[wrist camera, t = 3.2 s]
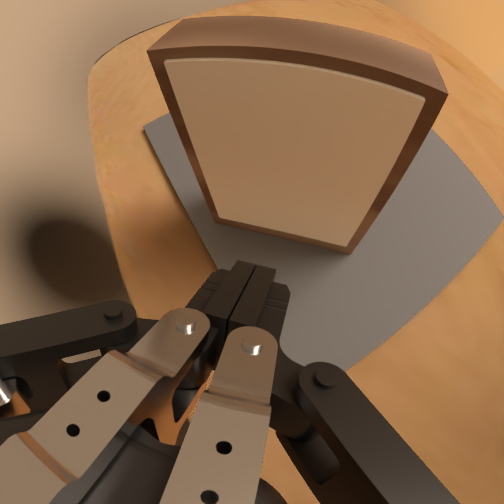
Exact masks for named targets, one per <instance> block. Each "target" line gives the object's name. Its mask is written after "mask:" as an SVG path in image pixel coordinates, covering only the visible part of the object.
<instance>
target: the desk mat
mask: <svg viewBox="0 0 504 504" xmlns="http://www.w3.org/2000/svg"><path fill="white" fill-rule="evenodd" d="M143 128H144V130H145V132H146V134H147V136H148V138H149V140H150V142H151V144H152V146H153V148H154V150H155V152H156V154H157V156H158V158H159V160H160V162H161V164H162V166H163V168H164V170H165V172H166V174H167V176H168V178H169V180H170V181H171V183H172V185H173V187H174V189H175V191H176V193H177V195H178V197H179V199H180V201H181V203H182V204H183V206H184V208H185V210H186V212H187V214H188V216H189V218H190V219H191V221H192V223H193V225H194V227H195V229H196V230H197V232H198V234H199V236H200V238H201V240H202V241H203V243H204V245H205V247H206V249H207V251H208V252H209V254H210V256H211V258H212V260H213V261H214V263H215V265H216V267H217V268H218V270H220V269H225V270H229V271H230V270H231V269H232V267H233V266H234V264H235V263H236V261H237V260H241V261H246V262H250V263H254V264H257V265H262V266H266V267H270V268H274V269H277V270H276V276H275V280H274V282H277V283H281V284H285V285H287V286H288V289H289V291H290V293H291V294H290V299H289V303H288V307H287V311H286V316H285V320H284V324H283V328H282V332H281V336H280V347H281V349H282V351H283V352H284V354H285V355H286V356H287V357H289V358H290V359H291V360H293V361H294V362H296V363H298V364H300V365H302V366H306V365H307V364H310V363H313V362H328V363H331V364H334V365H336V366H338V367H339V368H341V369H342V370H343V371H346V370H347V369H349V368H350V367H352V366H353V365H354V364H356V363H357V362H358V361H360V360H361V359H363V358H364V357H365V356H367V355H368V354H369V353H371V352H372V351H373V350H374V349H376V348H377V347H378V346H380V345H381V344H382V343H383V342H385V341H386V340H387V339H388V338H390V337H391V336H392V335H393V334H394V333H396V332H397V331H398V330H399V329H400V328H402V327H403V326H404V325H405V324H406V323H407V322H409V321H410V320H411V319H412V318H413V317H414V316H415V315H416V314H418V313H419V312H420V311H421V310H422V309H423V308H424V307H425V306H426V305H427V304H428V303H429V302H431V301H432V300H433V299H434V298H435V297H436V296H437V295H438V294H439V293H440V292H441V291H442V290H443V289H444V288H445V287H446V286H447V285H448V284H449V283H450V282H451V281H452V280H453V279H454V277H455V276H456V275H457V274H458V273H459V272H460V271H461V270H462V269H463V268H464V267H465V266H466V264H467V263H468V262H469V261H470V260H471V259H472V258H473V256H474V255H475V254H476V253H477V252H478V251H479V249H480V248H481V247H482V246H483V245H484V243H485V242H486V241H487V240H488V238H489V237H490V236H491V235H492V233H493V232H494V231H495V230H496V228H497V227H498V226H499V224H500V223H501V222H502V220H503V219H504V216H503V215H502V213H501V212H500V210H499V209H498V207H497V206H496V204H495V203H494V201H493V200H492V199H491V197H490V196H489V194H488V193H487V192H486V190H485V189H484V188H483V186H482V185H481V184H480V182H479V181H478V180H477V179H476V177H475V176H474V175H473V174H472V172H471V171H470V170H469V169H468V168H467V166H466V165H465V164H464V163H463V162H462V160H461V159H460V158H459V157H458V156H457V155H456V154H455V153H454V151H453V150H452V149H451V148H450V147H449V146H448V145H447V144H446V143H445V142H444V141H443V140H442V139H441V138H440V137H439V136H438V135H437V134H436V133H435V132H434V131H433V130H432V129H430V131H429V133H428V135H427V136H426V138H425V140H424V142H423V144H422V145H421V147H420V149H419V151H418V152H417V154H416V156H415V158H414V159H413V161H412V163H411V164H410V166H409V168H408V169H407V171H406V173H405V174H404V176H403V177H402V179H401V181H400V182H399V184H398V186H397V187H396V189H395V190H394V192H393V193H392V195H391V197H390V198H389V200H388V201H387V203H386V204H385V206H384V207H383V209H382V210H381V212H380V213H379V215H378V216H377V218H376V219H375V221H374V222H373V224H372V225H371V227H370V228H369V230H368V231H367V233H366V234H365V235H364V237H363V238H362V240H361V241H360V242H359V244H358V245H357V247H356V248H355V250H354V251H353V252H352V254H347V253H343V252H338V251H334V250H330V249H326V248H322V247H318V246H314V245H309V244H305V243H301V242H297V241H293V240H288V239H284V238H280V237H275V236H271V235H267V234H262V233H258V232H254V231H249V230H245V229H240V228H236V227H231V226H227V225H222V224H218V223H215V222H214V219H213V217H212V215H211V212H210V210H209V208H208V205H207V203H206V200H205V198H204V196H203V193H202V191H201V188H200V186H199V184H198V181H197V179H196V176H195V174H194V171H193V169H192V166H191V164H190V162H189V159H188V157H187V154H186V152H185V149H184V147H183V144H182V142H181V139H180V137H179V134H178V132H177V129H176V127H175V124H174V122H173V119H172V116H171V114H170V113H168V114H166V115H164V116H162V117H160V118H158V119H156V120H154V121H152V122H150V123H148V124H147V125H145V126H143Z"/></svg>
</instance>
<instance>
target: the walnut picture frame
mask: <svg viewBox="0 0 504 504" xmlns="http://www.w3.org/2000/svg"><path fill="white" fill-rule="evenodd" d="M147 54H148V56H149V59H150V62H151V64H152V67H153V70H154V72H155V75H156V78H157V80H158V83H159V85H160V88H161V91H162V93H163V96H164V98H165V101H166V104H167V106H168V109H169V111H170V114H171V116H172V119H173V122H174V124H175V127H176V129H177V132H178V134H179V137H180V139H181V142H182V144H183V147H184V149H185V152H186V154H187V157H188V159H189V162H190V164H191V166H192V169H193V171H194V174H195V176H196V179H197V181H198V184H199V186H200V188H201V191H202V193H203V196H204V198H205V200H206V203H207V205H208V208H209V210H210V212H211V215H212V217H213V219H214V222H215V223H218V224H222V225H227V226H231V227H236V228H240V229H245V230H249V231H254V232H258V233H262V234H267V235H271V236H275V237H280V238H284V239H288V240H293V241H297V242H301V243H305V244H309V245H314V246H318V247H322V248H326V249H330V250H334V251H338V252H343V253H347V254H352V252H353V251H354V250H355V248H356V247H357V245H358V244H359V242H360V241H361V240H362V238H363V237H364V235H365V234H366V233H367V231H368V230H369V228H370V227H371V225H372V224H373V222H374V221H375V219H376V218H377V216H378V215H379V213H380V212H381V210H382V209H383V207H384V206H385V204H386V203H387V201H388V200H389V198H390V197H391V195H392V193H393V192H394V190H395V189H396V187H397V186H398V184H399V182H400V181H401V179H402V177H403V176H404V174H405V173H406V171H407V169H408V168H409V166H410V164H411V163H412V161H413V159H414V158H415V156H416V154H417V152H418V151H419V149H420V147H421V145H422V144H423V142H424V140H425V138H426V136H427V135H428V133H429V131H430V129H431V127H432V126H433V124H434V122H435V120H436V118H437V116H438V114H439V112H440V110H441V108H442V106H443V104H444V102H445V100H446V98H447V96H448V91H447V89H446V86H445V84H444V82H443V79H442V77H441V75H440V72H439V70H438V68H437V66H436V64H435V62H434V60H433V58H432V55H431V54H430V53H428V52H425V51H423V50H420V49H418V48H415V47H412V46H410V45H407V44H404V43H401V42H398V41H395V40H392V39H389V38H386V37H382V36H379V35H375V34H372V33H368V32H364V31H360V30H356V29H352V28H347V27H342V26H338V25H332V24H327V23H321V22H314V21H307V20H299V19H290V18H279V17H263V16H216V17H200V18H189V19H183V20H182V21H180V22H179V23H178V24H177V25H175V26H174V27H173V28H172V29H170V30H169V31H168V32H167V33H166V34H164V35H163V36H162V37H161V38H160V39H159V40H158V41H157V42H155V43H154V44H153V45H152V46H151V47H150V48H149V49H148V50H147Z"/></svg>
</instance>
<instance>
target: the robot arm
mask: <svg viewBox="0 0 504 504" xmlns="http://www.w3.org/2000/svg"><path fill="white" fill-rule="evenodd" d="M276 270H277V269H274V268H270V267H266V266H262V265H257V264H254V263H250V262H246V261H241V260H237V261H236V263H235V264H234V266H233V267H232V269H231V270H230V271H229V270H225V269H220V270H218V271H216V272H213V273H211V275H210V276H209V277H208V279H207V280H206V282H204V284H203V285H202V286H201V288H200V289H199V290H198V291H197V293H196V294H195V295H194V296H193V298H192V299H191V300H190V302H189V303H188V304H187V306H186V307H185V308H178V309H174V310H171V311H169V312H168V313H166V314H165V315H164V316H163V317H162V318H161V319H160V320H151V319H142V318H136V311H135V309H134V307H133V306H132V305H130V304H129V303H127V302H124V301H118V300H114V301H113V300H112V301H106V302H102V303H98V304H93V305H89V306H85V307H80V308H76V309H71V310H67V311H63V312H58V313H53V314H49V315H45V316H40V317H35V318H30V319H26V320H22V321H16V322H12V323H7V324H2V325H0V504H287V502H286V501H285V500H284V498H283V497H282V496H281V495H280V493H279V492H278V491H277V490H276V489H274V488H273V487H272V486H271V485H270V484H268V483H267V482H266V481H265V480H263V479H261V478H260V473H261V468H262V462H263V457H264V451H265V446H266V440H267V434H268V428H269V427H271V428H273V429H274V430H276V435H277V437H278V439H279V441H280V442H281V444H282V446H283V447H284V449H285V451H286V452H287V454H288V455H289V457H290V459H291V460H292V462H293V463H294V465H295V466H296V468H297V470H298V471H299V473H300V474H301V476H302V477H303V479H304V480H305V482H306V483H307V485H308V486H309V488H310V489H311V491H312V492H313V494H314V495H315V497H316V498H317V499H318V501H319V502H320V504H460V503H459V502H458V501H457V500H456V499H455V497H454V496H453V495H452V494H451V493H450V492H449V491H448V490H447V488H446V487H445V486H444V485H443V484H442V483H441V482H440V481H439V479H438V478H437V477H436V476H435V475H434V474H433V473H432V472H431V470H430V469H429V468H428V467H427V466H426V465H425V464H424V462H423V461H422V460H421V459H420V458H419V457H418V456H417V455H416V453H415V452H414V451H413V450H412V449H411V448H410V447H409V445H408V444H407V443H406V442H405V441H404V440H403V439H402V437H401V436H400V435H399V434H398V433H397V432H396V431H395V429H394V428H393V427H392V426H391V425H390V424H389V423H388V421H387V420H386V419H385V418H384V417H383V416H382V415H381V413H380V412H379V411H378V410H377V409H376V408H375V406H374V405H373V404H372V403H371V402H370V401H369V400H368V398H367V397H366V396H365V395H364V394H363V393H362V391H361V390H360V389H359V388H358V387H357V386H356V385H355V383H354V382H353V381H352V380H351V379H350V378H349V376H348V375H347V374H346V373H345V372H344V371H343V370H342V369H341V368H339V367H338V366H336V365H334V364H331V363H328V362H313V363H310V364H307V365H306V366H302V365H300V364H298V363H296V362H294V361H293V360H291V359H290V358H289V357H287V356H286V355H285V354H284V352H283V351H282V349H281V347H280V336H281V332H282V328H283V324H284V320H285V316H286V311H287V307H288V303H289V299H290V294H291V293H290V291H289V289H288V286H287V285H285V284H281V283H277V282H274V280H275V276H276ZM97 349H100V352H101V355H102V356H98V357H95V358H91V359H88V360H83V361H79V362H75V363H66V362H64V361H62V360H61V359H62V358H65V357H69V356H74V355H78V354H82V353H86V352H89V351H93V350H97ZM212 370H215V372H214V375H213V378H212V381H211V383H210V386H209V388H208V390H204V389H205V387H206V382H207V379H208V377H209V375H210V373H211V371H212ZM202 392H203V393H202ZM201 394H202V395H201ZM200 396H201V397H200ZM199 397H200V400H199V402H198V405H197V407H196V410H195V413H194V415H193V418H192V421H191V423H190V426H189V428H188V431H187V434H186V436H185V439H184V442H183V444H182V447H180V446H175V443H176V440H177V435H178V432H179V430H180V428H181V426H182V425H183V423H184V421H185V420H186V418H187V417H188V415H189V413H190V412H191V410H192V409H193V407H194V405H195V404H196V402H197V401H198V399H199Z"/></svg>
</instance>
